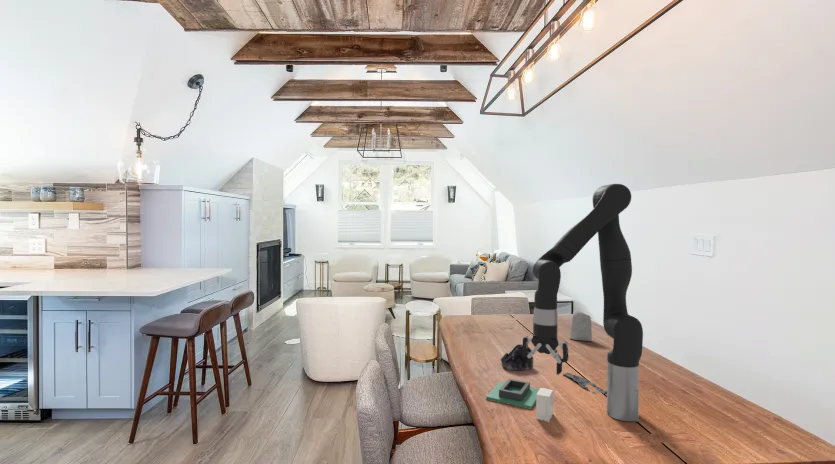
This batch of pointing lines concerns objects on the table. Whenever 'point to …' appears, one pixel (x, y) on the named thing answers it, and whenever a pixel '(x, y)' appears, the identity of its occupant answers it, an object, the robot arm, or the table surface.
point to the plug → (544, 404)
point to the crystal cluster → (515, 359)
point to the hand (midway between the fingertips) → (544, 371)
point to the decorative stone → (581, 327)
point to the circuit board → (514, 393)
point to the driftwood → (584, 382)
